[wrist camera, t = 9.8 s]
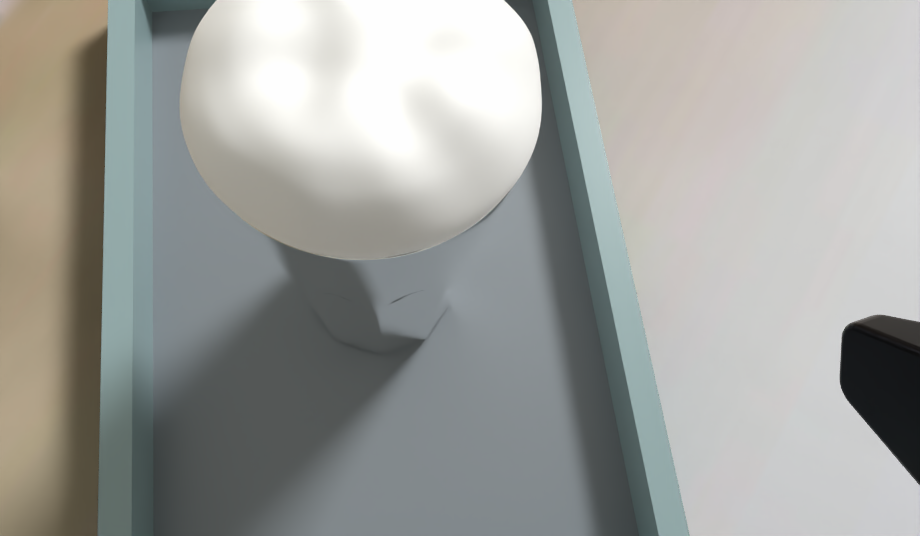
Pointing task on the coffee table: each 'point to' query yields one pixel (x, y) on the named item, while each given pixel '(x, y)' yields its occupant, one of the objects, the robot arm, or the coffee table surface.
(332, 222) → the milkshake
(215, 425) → the tray
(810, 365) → the coffee table surface
